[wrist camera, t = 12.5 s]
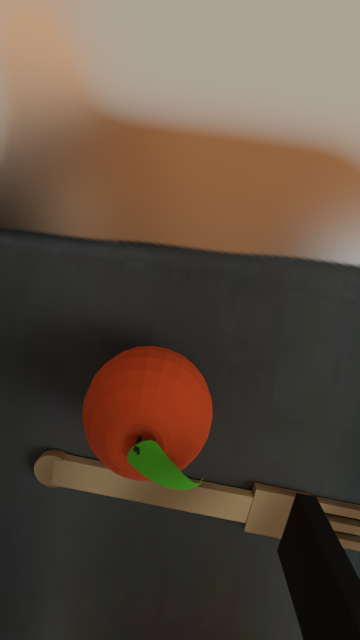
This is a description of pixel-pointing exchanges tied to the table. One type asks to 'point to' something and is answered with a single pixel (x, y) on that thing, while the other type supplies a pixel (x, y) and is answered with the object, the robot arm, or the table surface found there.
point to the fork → (197, 497)
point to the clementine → (148, 415)
